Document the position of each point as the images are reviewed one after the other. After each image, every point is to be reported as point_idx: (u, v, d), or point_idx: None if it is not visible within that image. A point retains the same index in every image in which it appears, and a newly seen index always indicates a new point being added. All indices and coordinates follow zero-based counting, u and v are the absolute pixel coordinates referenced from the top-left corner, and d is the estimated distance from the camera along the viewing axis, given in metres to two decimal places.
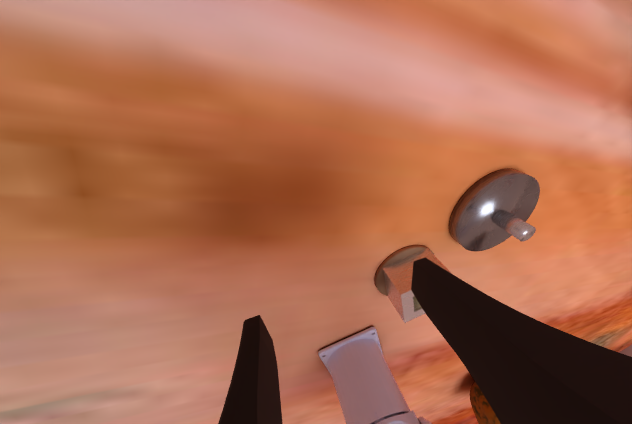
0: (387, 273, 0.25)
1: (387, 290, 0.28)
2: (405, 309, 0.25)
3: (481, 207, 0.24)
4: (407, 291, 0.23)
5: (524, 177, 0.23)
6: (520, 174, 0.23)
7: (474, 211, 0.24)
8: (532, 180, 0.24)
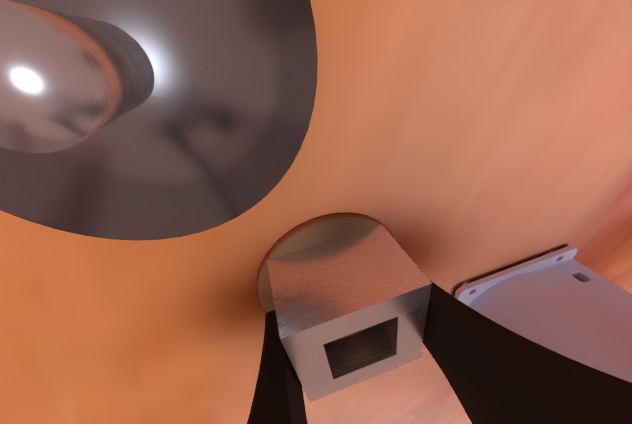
0: None
1: None
2: (371, 373, 0.11)
3: (69, 193, 0.06)
4: (308, 393, 0.10)
5: None
6: None
7: (92, 217, 0.07)
8: None
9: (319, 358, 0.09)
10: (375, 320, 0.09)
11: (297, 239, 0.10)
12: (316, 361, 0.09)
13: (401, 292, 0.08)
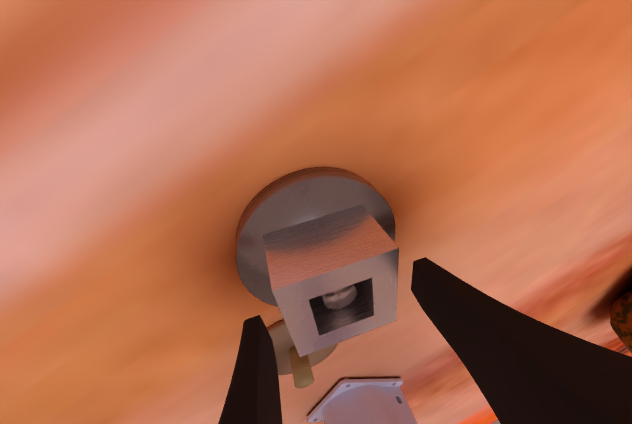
0: None
1: None
2: (353, 333, 0.13)
3: (265, 276, 0.14)
4: (297, 348, 0.12)
5: (273, 203, 0.11)
6: (263, 205, 0.12)
7: (260, 286, 0.14)
8: (301, 190, 0.11)
9: (306, 312, 0.11)
10: (352, 280, 0.10)
11: None
12: (303, 315, 0.11)
13: (373, 255, 0.10)
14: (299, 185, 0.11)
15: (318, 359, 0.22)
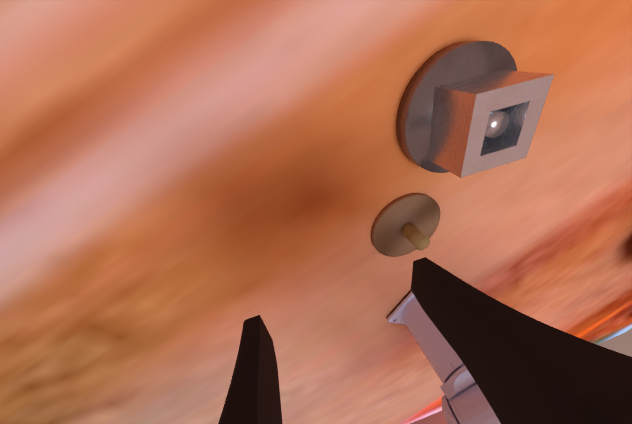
0: (434, 161, 0.19)
1: None
2: (498, 162, 0.17)
3: (422, 130, 0.18)
4: (462, 167, 0.16)
5: (450, 57, 0.16)
6: (442, 59, 0.16)
7: (416, 140, 0.18)
8: (470, 48, 0.16)
9: (483, 126, 0.15)
10: (519, 99, 0.15)
11: (420, 197, 0.23)
12: (480, 129, 0.15)
13: (537, 78, 0.14)
14: (470, 43, 0.16)
15: None
